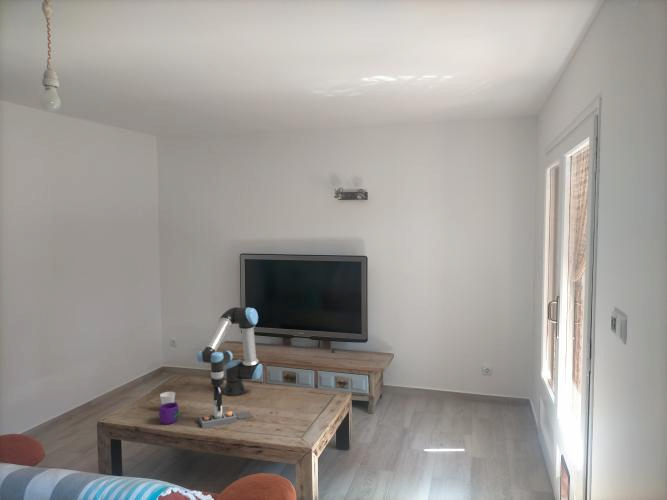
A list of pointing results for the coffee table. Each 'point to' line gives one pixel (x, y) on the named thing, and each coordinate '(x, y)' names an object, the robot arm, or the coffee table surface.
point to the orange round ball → (206, 417)
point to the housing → (218, 420)
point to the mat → (243, 415)
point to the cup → (167, 397)
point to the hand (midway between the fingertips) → (218, 414)
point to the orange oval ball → (229, 414)
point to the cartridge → (216, 411)
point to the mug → (168, 413)
